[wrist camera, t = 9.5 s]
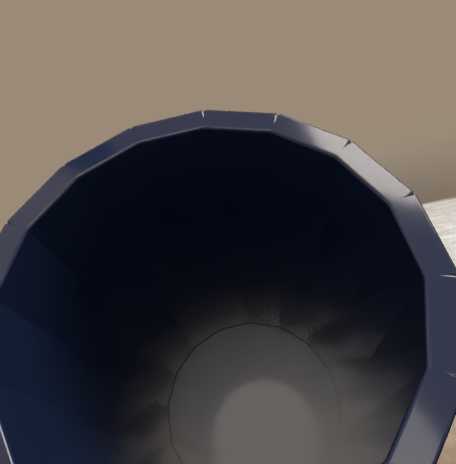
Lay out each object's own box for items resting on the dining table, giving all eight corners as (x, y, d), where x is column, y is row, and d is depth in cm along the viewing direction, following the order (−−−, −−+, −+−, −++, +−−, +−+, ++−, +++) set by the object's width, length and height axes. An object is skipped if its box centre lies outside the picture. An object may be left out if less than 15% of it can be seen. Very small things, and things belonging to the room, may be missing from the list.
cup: (173, 545, 15) (-89, 686, 4) (150, 339, 19) (-18, 161, 8) (382, 496, 15) (595, 522, 4) (316, 300, 19) (351, 73, 8)
